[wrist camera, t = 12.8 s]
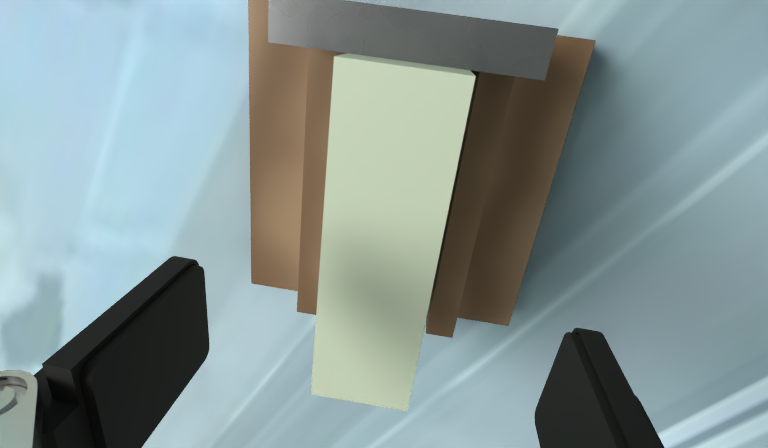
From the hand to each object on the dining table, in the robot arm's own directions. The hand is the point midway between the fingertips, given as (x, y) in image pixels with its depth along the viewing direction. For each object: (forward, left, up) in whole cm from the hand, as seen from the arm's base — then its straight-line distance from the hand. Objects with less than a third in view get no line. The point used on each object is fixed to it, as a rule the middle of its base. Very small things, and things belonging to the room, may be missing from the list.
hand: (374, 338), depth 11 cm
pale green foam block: (0, 0, -13) cm, 13 cm away
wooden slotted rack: (+1, 0, -15) cm, 15 cm away
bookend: (+1, -7, -13) cm, 15 cm away
